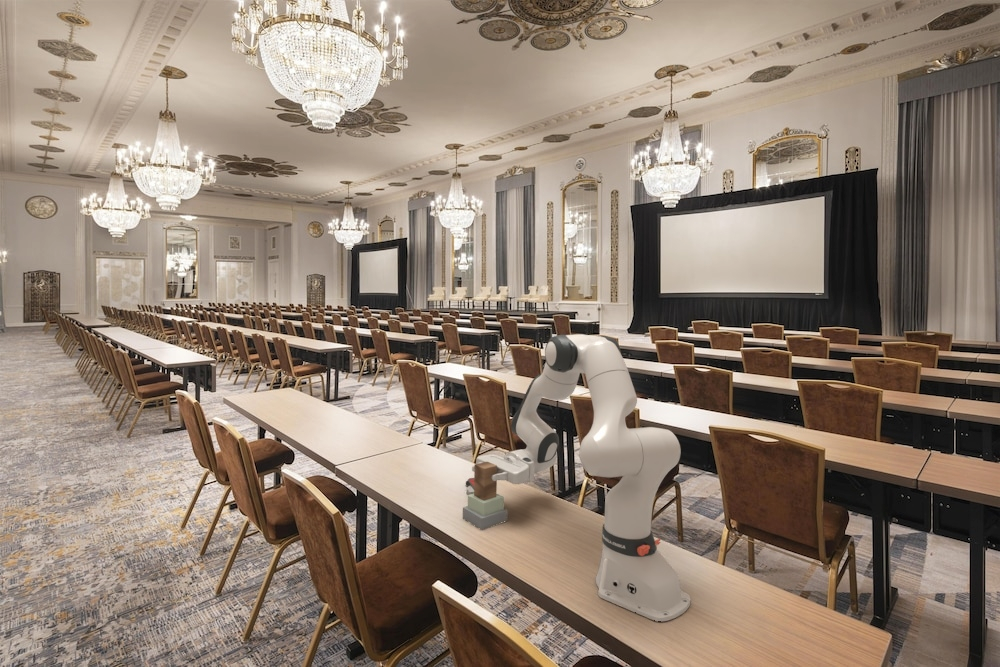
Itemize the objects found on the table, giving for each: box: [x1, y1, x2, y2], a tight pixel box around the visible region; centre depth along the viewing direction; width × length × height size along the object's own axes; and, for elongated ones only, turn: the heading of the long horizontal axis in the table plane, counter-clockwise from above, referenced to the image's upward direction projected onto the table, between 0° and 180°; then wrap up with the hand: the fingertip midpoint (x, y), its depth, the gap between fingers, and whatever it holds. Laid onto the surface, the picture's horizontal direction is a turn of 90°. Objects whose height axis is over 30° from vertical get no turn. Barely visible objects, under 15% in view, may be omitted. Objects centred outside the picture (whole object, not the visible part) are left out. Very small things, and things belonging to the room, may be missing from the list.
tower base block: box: [462, 505, 508, 531], centre depth 163 cm, size 10×10×4 cm
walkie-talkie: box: [465, 477, 474, 496], centre depth 183 cm, size 9×4×20 cm
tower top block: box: [467, 493, 505, 516], centre depth 163 cm, size 8×8×4 cm
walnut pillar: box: [473, 462, 498, 501], centre depth 162 cm, size 5×5×10 cm
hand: (482, 473), depth 161 cm, fingers open, 8 cm apart
